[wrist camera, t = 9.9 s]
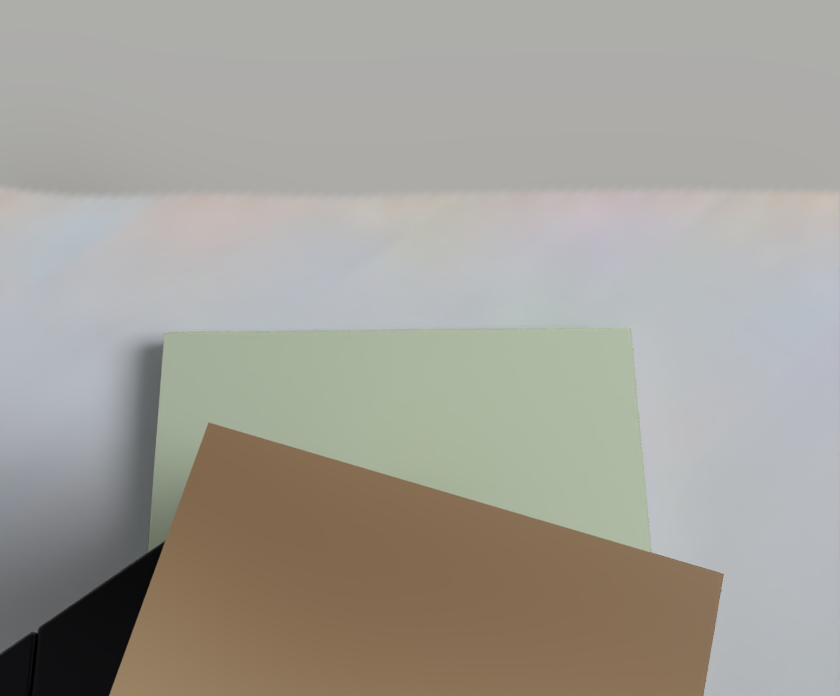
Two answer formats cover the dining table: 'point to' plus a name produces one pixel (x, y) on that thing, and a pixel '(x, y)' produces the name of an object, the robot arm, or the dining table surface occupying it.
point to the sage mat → (424, 414)
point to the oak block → (399, 593)
